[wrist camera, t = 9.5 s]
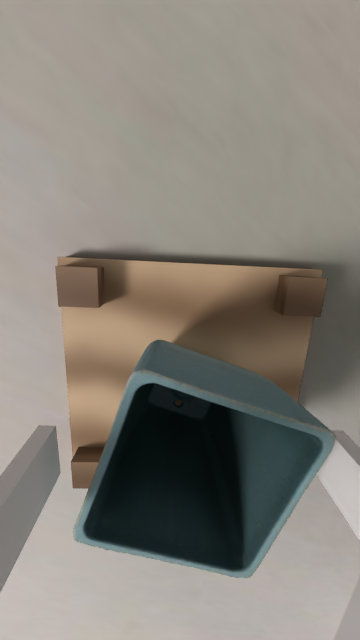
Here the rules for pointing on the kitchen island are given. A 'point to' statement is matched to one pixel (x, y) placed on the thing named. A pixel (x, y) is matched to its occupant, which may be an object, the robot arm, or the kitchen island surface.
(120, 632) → the kitchen island surface
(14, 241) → the kitchen island surface
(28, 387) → the kitchen island surface
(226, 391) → the flower pot
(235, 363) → the trivet
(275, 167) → the kitchen island surface
